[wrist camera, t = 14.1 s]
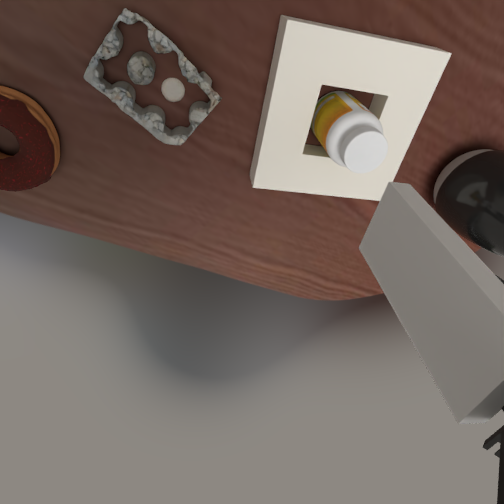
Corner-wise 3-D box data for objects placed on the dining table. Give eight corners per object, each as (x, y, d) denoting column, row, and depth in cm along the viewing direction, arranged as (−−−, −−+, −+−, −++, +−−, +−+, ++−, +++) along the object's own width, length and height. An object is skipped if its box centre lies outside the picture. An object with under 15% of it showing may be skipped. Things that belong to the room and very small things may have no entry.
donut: (-41, 58, 32) (-66, 69, 29) (75, 112, 36) (64, 127, 33) (-52, 154, 37) (-75, 172, 34) (51, 193, 41) (40, 212, 38)
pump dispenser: (461, 219, 51) (541, 298, 40) (404, 197, 48) (473, 276, 36) (519, 154, 46) (632, 223, 34) (460, 124, 42) (563, 190, 31)
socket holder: (249, 174, 43) (252, 187, 41) (281, 14, 33) (287, 19, 31) (373, 188, 46) (383, 201, 44) (435, 47, 37) (451, 53, 34)
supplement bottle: (306, 141, 41) (331, 182, 34) (312, 90, 38) (341, 124, 30) (352, 139, 42) (387, 179, 34) (362, 89, 38) (403, 121, 31)
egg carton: (224, 88, 37) (228, 101, 34) (176, 141, 40) (175, 157, 37) (133, -4, 31) (127, 1, 28) (85, 65, 34) (74, 77, 31)
